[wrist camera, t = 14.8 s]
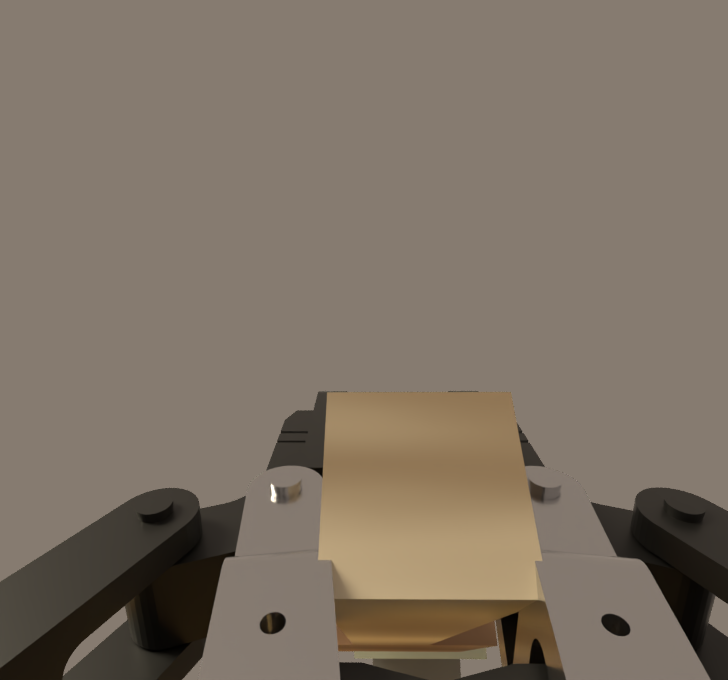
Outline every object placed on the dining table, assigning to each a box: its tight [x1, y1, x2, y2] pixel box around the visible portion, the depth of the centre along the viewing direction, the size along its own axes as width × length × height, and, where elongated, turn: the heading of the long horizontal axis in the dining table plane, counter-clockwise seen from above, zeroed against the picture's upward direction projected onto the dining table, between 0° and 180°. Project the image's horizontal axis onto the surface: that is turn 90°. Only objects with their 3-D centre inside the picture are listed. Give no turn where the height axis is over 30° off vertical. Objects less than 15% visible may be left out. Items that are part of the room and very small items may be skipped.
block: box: [318, 392, 542, 652], centre depth 15 cm, size 21×7×5 cm, turn 0°
